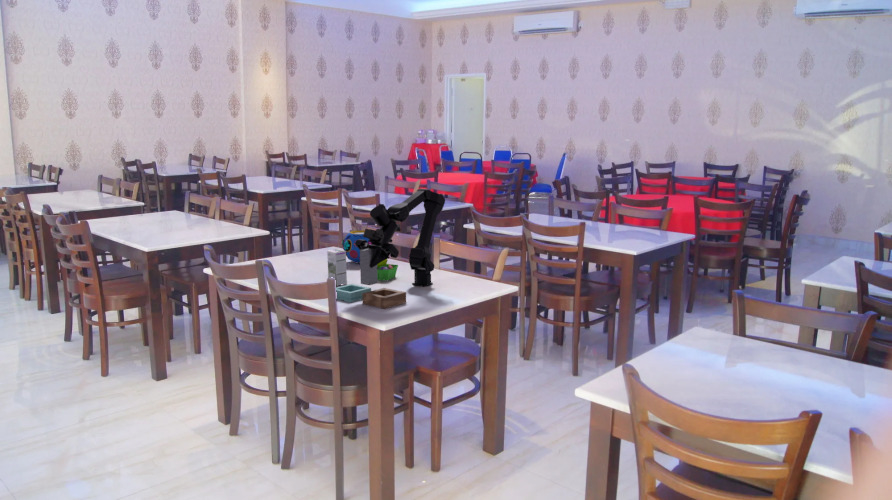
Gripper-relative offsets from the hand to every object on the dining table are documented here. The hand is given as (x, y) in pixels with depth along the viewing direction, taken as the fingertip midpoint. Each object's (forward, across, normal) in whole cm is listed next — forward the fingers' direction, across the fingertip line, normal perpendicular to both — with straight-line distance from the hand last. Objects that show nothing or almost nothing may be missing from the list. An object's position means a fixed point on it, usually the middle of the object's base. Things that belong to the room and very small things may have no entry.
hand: (366, 266), depth 258 cm
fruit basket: (-14, -22, +33) cm, 42 cm away
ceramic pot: (-26, -55, +46) cm, 76 cm away
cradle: (+9, -10, +10) cm, 16 cm away
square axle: (+4, 0, +6) cm, 7 cm away
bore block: (+8, +8, +11) cm, 16 cm away
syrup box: (+1, -29, +18) cm, 35 cm away
